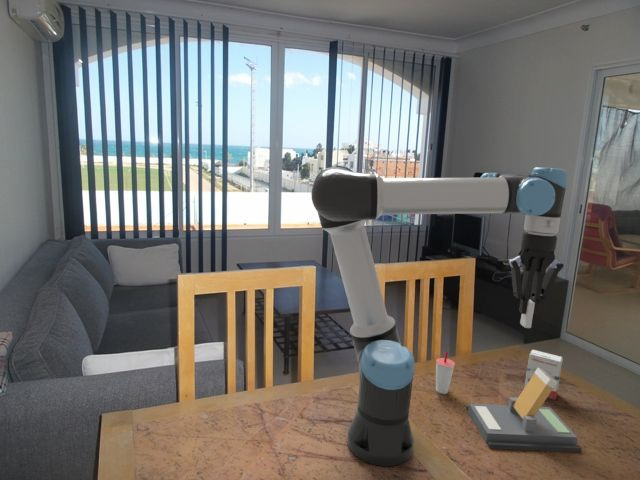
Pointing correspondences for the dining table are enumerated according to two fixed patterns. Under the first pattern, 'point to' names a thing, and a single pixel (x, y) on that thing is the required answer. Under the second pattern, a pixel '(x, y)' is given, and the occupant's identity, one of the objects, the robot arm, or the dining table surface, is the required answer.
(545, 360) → the ink box
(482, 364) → the dining table surface
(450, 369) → the cup
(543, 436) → the panel
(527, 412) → the breaker lever
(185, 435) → the dining table surface
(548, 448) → the dark grey edge strip
